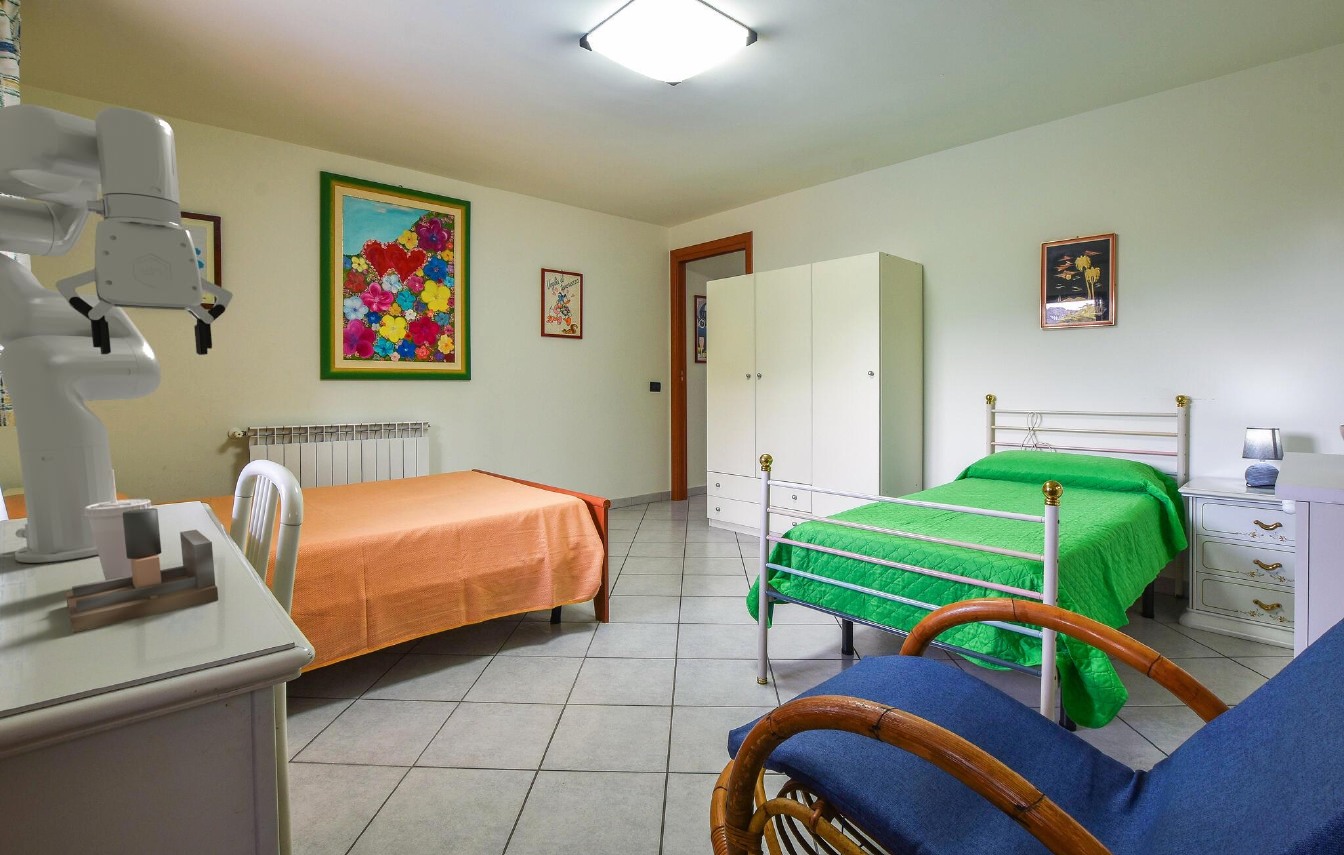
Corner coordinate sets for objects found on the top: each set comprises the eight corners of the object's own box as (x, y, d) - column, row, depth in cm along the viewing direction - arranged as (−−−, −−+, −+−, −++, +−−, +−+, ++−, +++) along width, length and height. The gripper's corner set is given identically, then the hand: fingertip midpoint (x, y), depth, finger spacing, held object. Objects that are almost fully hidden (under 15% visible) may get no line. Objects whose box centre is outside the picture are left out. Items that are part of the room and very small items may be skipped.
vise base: (73, 632, 63) (66, 568, 62) (67, 605, 71) (61, 548, 70) (218, 599, 72) (213, 543, 71) (199, 579, 79) (194, 528, 79)
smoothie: (123, 571, 83) (113, 465, 82) (171, 570, 83) (161, 465, 82) (76, 587, 77) (64, 473, 76) (127, 587, 77) (116, 473, 75)
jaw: (132, 594, 69) (125, 516, 68) (127, 584, 72) (119, 510, 71) (167, 587, 71) (160, 512, 70) (160, 578, 74) (154, 505, 73)
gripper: (48, 198, 71) (64, 352, 72) (232, 222, 83) (243, 353, 84) (46, 211, 76) (61, 354, 77) (220, 232, 88) (230, 355, 90)
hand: (156, 354), depth 81 cm, fingers open, 9 cm apart
